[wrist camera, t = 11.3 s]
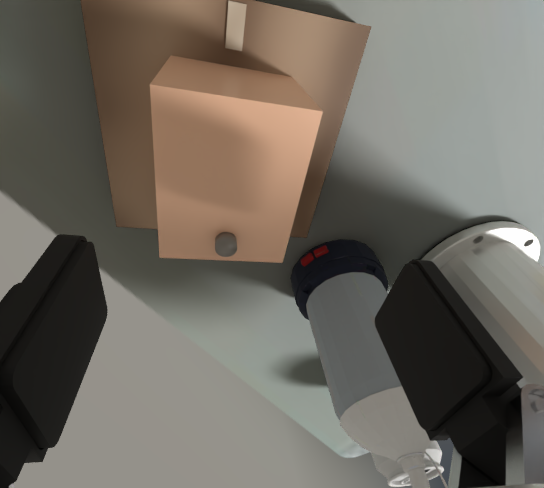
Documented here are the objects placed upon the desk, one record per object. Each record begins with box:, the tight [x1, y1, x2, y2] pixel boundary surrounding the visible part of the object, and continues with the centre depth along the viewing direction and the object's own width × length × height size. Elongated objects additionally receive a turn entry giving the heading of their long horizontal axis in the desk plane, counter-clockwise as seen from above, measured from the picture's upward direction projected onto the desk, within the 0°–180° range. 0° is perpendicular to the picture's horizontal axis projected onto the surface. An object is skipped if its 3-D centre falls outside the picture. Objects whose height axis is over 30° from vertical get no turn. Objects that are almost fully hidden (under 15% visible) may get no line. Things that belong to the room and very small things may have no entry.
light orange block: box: [150, 55, 323, 263], centre depth 15 cm, size 6×8×7 cm
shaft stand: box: [80, 0, 371, 238], centre depth 17 cm, size 13×13×7 cm
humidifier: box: [291, 239, 448, 488], centre depth 19 cm, size 8×8×25 cm
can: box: [371, 441, 444, 487], centre depth 38 cm, size 8×8×12 cm
